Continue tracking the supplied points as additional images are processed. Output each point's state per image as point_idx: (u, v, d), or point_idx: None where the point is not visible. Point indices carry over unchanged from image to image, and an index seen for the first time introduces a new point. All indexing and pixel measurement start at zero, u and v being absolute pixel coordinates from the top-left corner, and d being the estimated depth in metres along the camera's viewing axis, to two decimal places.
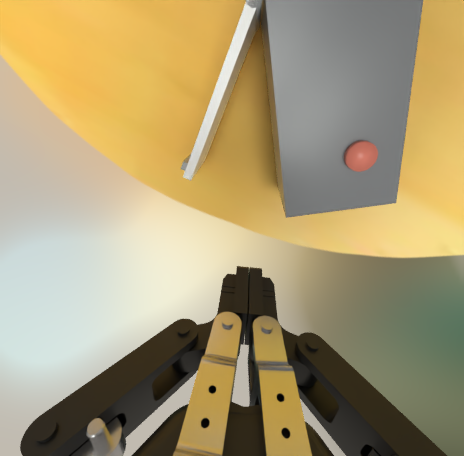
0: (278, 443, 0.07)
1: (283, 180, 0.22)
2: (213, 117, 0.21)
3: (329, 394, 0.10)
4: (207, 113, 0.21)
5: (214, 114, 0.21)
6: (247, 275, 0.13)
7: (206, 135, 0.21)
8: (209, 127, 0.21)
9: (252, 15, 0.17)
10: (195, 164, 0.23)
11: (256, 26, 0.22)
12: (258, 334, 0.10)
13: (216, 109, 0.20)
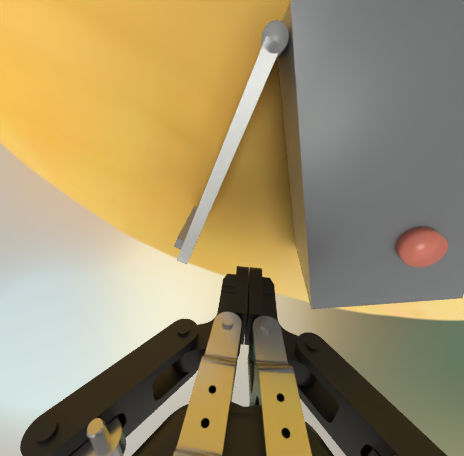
0: (278, 443, 0.07)
1: (309, 269, 0.17)
2: (215, 193, 0.15)
3: (329, 394, 0.10)
4: (207, 189, 0.15)
5: (217, 190, 0.15)
6: (247, 275, 0.13)
7: (206, 214, 0.16)
8: (210, 205, 0.16)
9: (272, 63, 0.12)
10: (192, 247, 0.17)
11: None
12: (258, 334, 0.10)
13: (219, 184, 0.15)
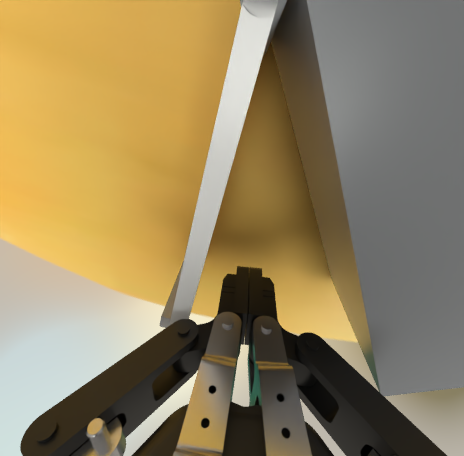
0: (278, 443, 0.07)
1: (374, 349, 0.11)
2: (202, 262, 0.10)
3: (329, 394, 0.10)
4: (188, 256, 0.10)
5: (203, 257, 0.10)
6: (247, 275, 0.13)
7: (193, 291, 0.10)
8: (197, 278, 0.10)
9: (264, 39, 0.06)
10: None
11: (265, 48, 0.11)
12: (258, 334, 0.10)
13: (205, 248, 0.09)
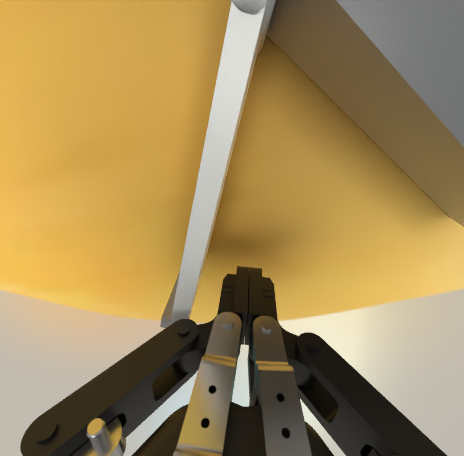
0: (278, 443, 0.07)
1: None
2: (200, 261, 0.10)
3: (329, 394, 0.10)
4: (186, 256, 0.10)
5: (201, 256, 0.10)
6: (247, 275, 0.13)
7: (192, 290, 0.10)
8: (195, 278, 0.10)
9: (255, 36, 0.06)
10: None
11: (259, 46, 0.11)
12: (258, 334, 0.10)
13: (203, 248, 0.09)
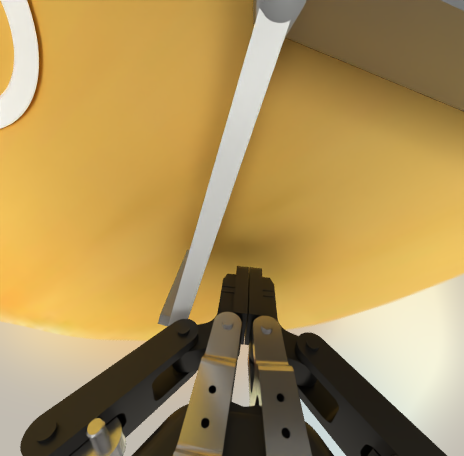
0: (278, 443, 0.07)
1: None
2: (205, 261, 0.10)
3: (329, 394, 0.10)
4: (191, 255, 0.10)
5: (206, 256, 0.10)
6: (247, 275, 0.13)
7: (195, 289, 0.10)
8: (199, 277, 0.10)
9: (280, 43, 0.06)
10: None
11: None
12: (258, 334, 0.10)
13: (209, 248, 0.09)
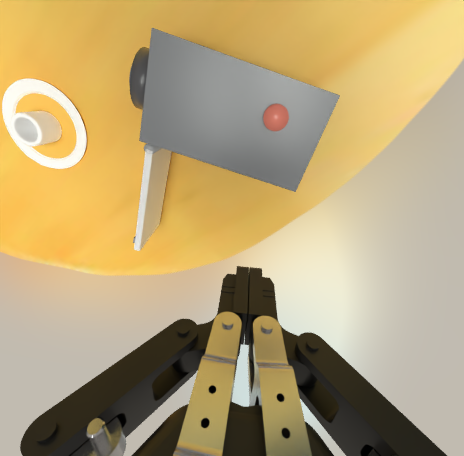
0: (278, 443, 0.07)
1: (264, 180, 0.27)
2: (143, 213, 0.31)
3: (329, 394, 0.10)
4: (139, 211, 0.31)
5: (144, 211, 0.31)
6: (247, 275, 0.13)
7: (142, 224, 0.32)
8: (143, 219, 0.32)
9: (151, 158, 0.28)
10: (140, 241, 0.33)
11: None
12: (258, 334, 0.10)
13: (144, 208, 0.31)
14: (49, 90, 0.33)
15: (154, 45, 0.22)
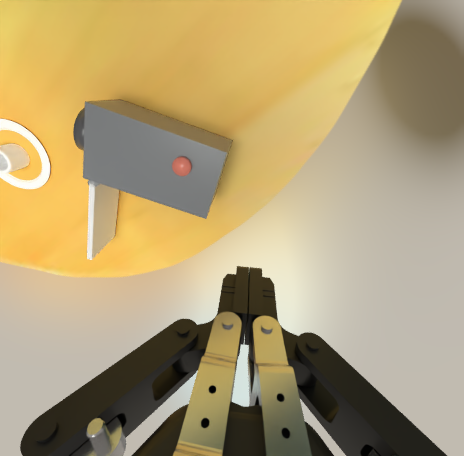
0: (278, 443, 0.07)
1: (181, 209, 0.35)
2: (92, 231, 0.39)
3: (329, 394, 0.10)
4: (88, 229, 0.39)
5: (92, 229, 0.39)
6: (247, 275, 0.13)
7: (91, 239, 0.40)
8: (92, 235, 0.40)
9: (94, 190, 0.36)
10: (91, 252, 0.41)
11: None
12: (258, 334, 0.10)
13: (92, 227, 0.39)
14: (17, 128, 0.40)
15: (88, 113, 0.30)
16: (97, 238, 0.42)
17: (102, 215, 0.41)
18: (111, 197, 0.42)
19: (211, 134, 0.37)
